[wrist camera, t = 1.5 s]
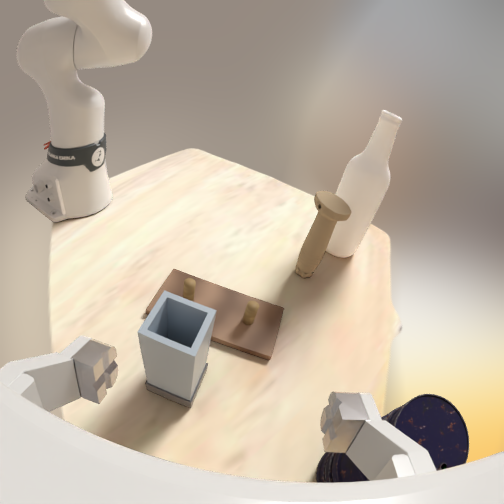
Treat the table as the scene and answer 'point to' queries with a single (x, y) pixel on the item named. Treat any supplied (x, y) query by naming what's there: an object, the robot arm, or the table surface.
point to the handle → (321, 231)
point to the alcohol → (364, 187)
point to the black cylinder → (416, 428)
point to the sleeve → (176, 347)
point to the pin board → (229, 313)
